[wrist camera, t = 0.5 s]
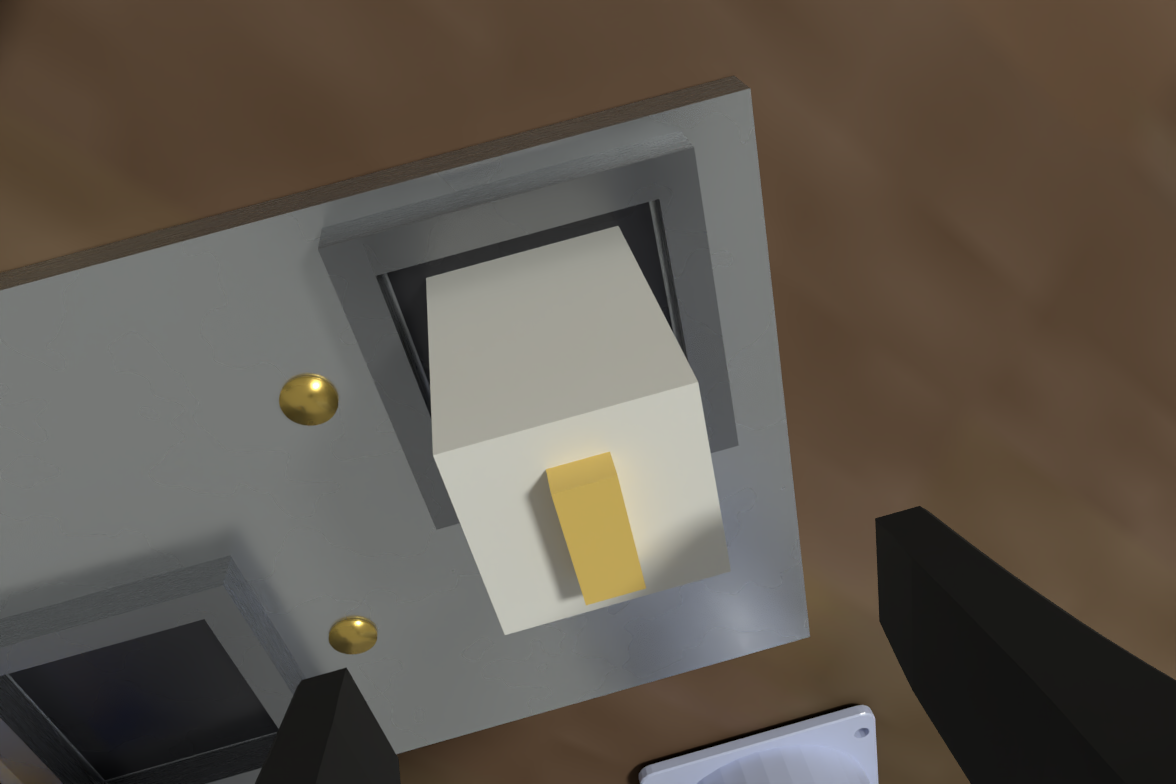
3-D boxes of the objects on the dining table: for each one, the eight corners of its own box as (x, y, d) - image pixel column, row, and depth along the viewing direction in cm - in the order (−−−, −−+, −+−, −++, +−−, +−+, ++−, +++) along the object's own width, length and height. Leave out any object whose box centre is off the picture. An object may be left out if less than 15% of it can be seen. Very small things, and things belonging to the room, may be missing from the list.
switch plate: (797, 611, 27) (823, 663, 25) (78, 815, 26) (56, 882, 25) (734, 75, 18) (767, 102, 16) (-357, 369, 17) (-437, 427, 16)
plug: (651, 385, 20) (742, 596, 15) (481, 433, 20) (508, 662, 15) (617, 226, 18) (709, 404, 13) (426, 278, 18) (433, 481, 12)
